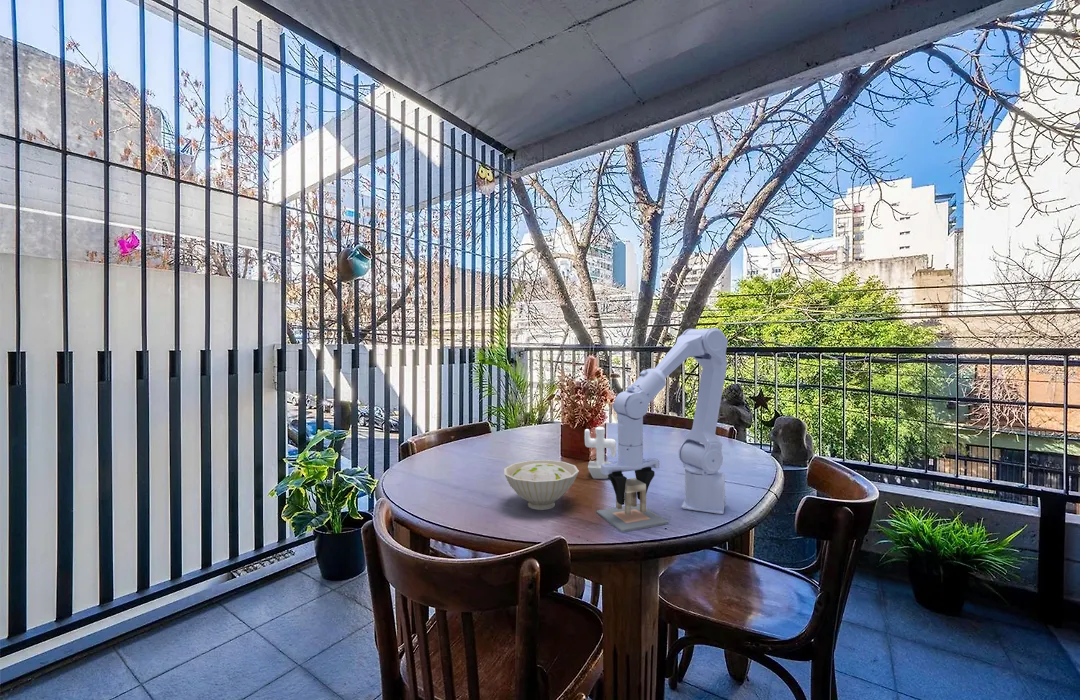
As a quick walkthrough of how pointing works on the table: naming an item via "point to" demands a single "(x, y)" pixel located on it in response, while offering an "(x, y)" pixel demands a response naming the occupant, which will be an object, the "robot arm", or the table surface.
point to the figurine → (599, 451)
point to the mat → (631, 518)
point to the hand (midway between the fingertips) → (631, 501)
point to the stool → (633, 495)
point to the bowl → (541, 481)
